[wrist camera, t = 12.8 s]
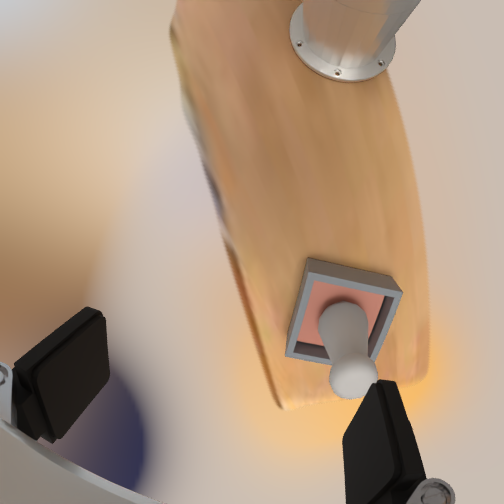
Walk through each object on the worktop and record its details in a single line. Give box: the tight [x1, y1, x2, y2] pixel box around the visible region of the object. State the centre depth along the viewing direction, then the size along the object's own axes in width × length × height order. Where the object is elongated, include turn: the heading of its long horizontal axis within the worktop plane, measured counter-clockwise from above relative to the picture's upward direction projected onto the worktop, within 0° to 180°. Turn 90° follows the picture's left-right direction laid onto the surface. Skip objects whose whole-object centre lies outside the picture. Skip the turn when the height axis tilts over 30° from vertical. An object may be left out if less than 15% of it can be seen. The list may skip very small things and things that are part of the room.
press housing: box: [285, 258, 403, 365], centre depth 36 cm, size 11×11×5 cm
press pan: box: [297, 280, 385, 346], centre depth 36 cm, size 9×9×1 cm
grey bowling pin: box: [318, 301, 378, 399], centre depth 30 cm, size 6×6×13 cm
